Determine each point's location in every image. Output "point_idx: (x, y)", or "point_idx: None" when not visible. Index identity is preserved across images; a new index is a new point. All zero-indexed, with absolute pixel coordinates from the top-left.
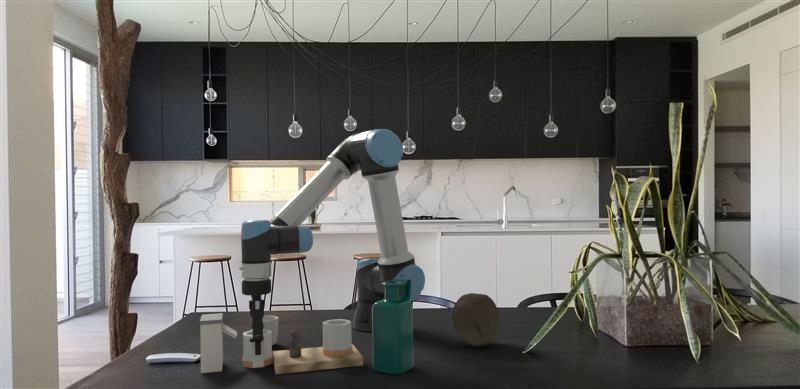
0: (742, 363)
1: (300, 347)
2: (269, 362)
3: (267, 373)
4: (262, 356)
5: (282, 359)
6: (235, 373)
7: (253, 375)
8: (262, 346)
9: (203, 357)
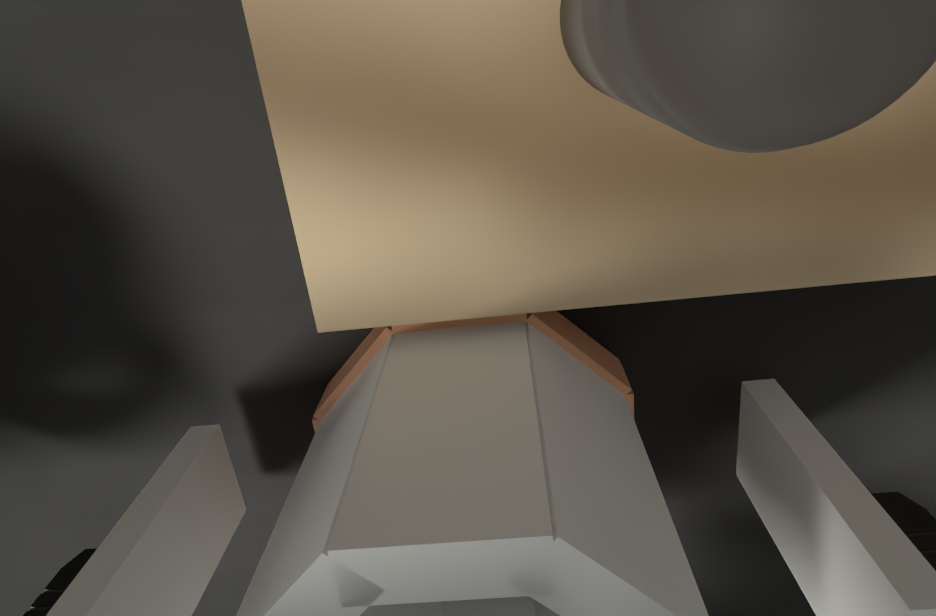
0: None
1: None
2: (569, 327)
3: (860, 319)
4: (829, 455)
5: (741, 196)
6: (733, 563)
7: (862, 433)
8: (901, 547)
9: None
